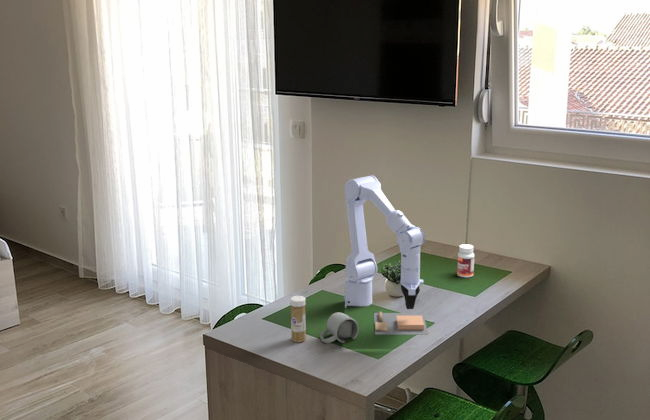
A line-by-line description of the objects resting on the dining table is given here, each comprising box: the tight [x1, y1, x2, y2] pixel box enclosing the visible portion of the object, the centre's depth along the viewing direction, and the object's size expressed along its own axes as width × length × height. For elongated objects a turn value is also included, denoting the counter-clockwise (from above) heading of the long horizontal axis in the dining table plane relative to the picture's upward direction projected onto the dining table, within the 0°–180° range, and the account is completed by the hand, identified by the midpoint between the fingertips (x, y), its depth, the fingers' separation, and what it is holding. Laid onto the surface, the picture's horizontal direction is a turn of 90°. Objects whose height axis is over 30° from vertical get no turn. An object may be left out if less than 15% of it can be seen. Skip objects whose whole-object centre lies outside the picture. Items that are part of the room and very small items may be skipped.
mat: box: [373, 312, 429, 336], centre depth 217 cm, size 16×16×1 cm
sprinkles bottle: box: [289, 295, 307, 343], centre depth 207 cm, size 5×5×14 cm
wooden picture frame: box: [397, 316, 424, 330], centre depth 215 cm, size 8×2×7 cm
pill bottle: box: [456, 243, 475, 278], centre depth 257 cm, size 6×6×11 cm
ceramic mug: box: [320, 312, 359, 344], centre depth 208 cm, size 11×8×8 cm
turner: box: [374, 311, 387, 331], centre depth 217 cm, size 4×12×1 cm, turn 177°
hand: (409, 308), depth 215 cm, fingers closed
